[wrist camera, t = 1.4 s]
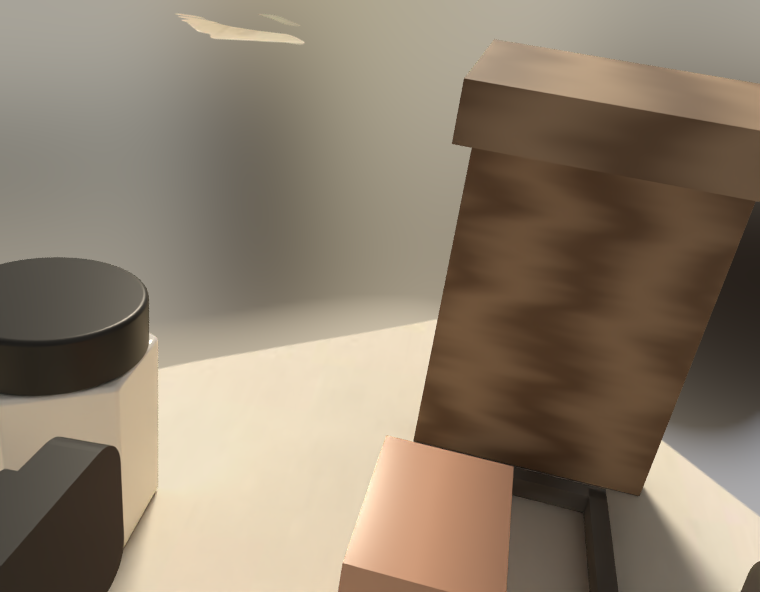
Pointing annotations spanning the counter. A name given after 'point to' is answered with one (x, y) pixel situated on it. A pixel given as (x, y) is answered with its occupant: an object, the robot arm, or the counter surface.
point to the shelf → (584, 267)
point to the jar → (79, 367)
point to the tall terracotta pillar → (431, 523)
